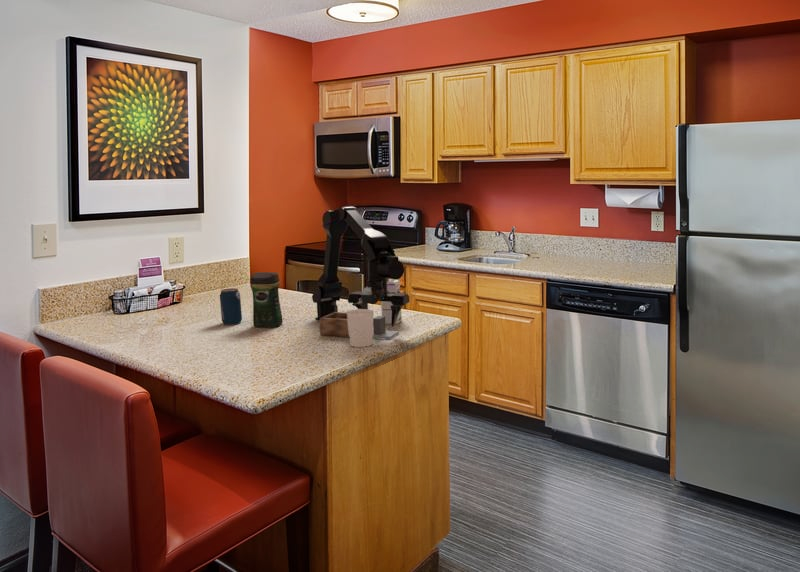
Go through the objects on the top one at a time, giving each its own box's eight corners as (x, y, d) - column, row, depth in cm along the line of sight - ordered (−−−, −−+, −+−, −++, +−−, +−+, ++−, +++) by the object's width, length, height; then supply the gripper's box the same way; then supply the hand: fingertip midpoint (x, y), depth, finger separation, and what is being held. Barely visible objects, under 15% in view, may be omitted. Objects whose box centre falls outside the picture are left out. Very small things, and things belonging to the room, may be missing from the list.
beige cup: (359, 340, 188) (357, 308, 186) (379, 343, 184) (378, 310, 182) (342, 346, 182) (341, 313, 180) (363, 349, 177) (362, 315, 176)
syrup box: (398, 324, 207) (397, 281, 205) (381, 324, 208) (379, 281, 206) (401, 320, 213) (400, 279, 210) (385, 320, 214) (383, 279, 211)
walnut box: (320, 335, 195) (319, 318, 194) (335, 328, 204) (334, 311, 203) (354, 338, 191) (353, 320, 190) (367, 330, 200) (367, 313, 199)
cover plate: (360, 338, 191) (359, 319, 190) (370, 333, 198) (369, 314, 197) (390, 340, 188) (389, 320, 187) (398, 334, 194) (398, 315, 193)
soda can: (246, 321, 219) (243, 288, 217) (233, 326, 213) (230, 291, 211) (230, 320, 222) (228, 287, 220) (217, 324, 216) (215, 291, 214)
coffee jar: (285, 323, 214) (282, 270, 211) (276, 328, 207) (272, 274, 204) (260, 322, 216) (256, 270, 213) (250, 328, 209) (245, 274, 206)
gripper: (338, 279, 186) (341, 329, 188) (395, 281, 179) (397, 333, 181) (354, 273, 196) (356, 321, 198) (409, 275, 189) (410, 324, 192)
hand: (379, 325), depth 192 cm, fingers open, 9 cm apart
